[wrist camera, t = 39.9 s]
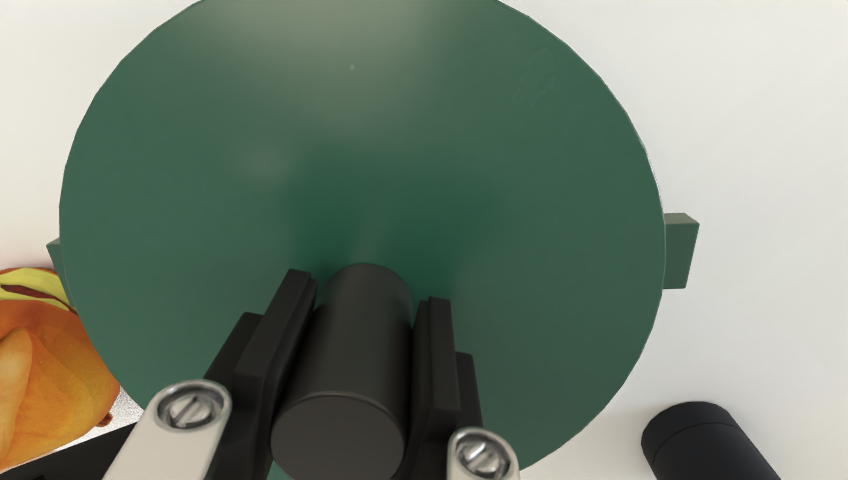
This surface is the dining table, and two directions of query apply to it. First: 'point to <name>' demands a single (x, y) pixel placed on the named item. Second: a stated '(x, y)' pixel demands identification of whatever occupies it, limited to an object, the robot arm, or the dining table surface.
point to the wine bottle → (702, 446)
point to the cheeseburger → (46, 369)
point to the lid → (366, 216)
